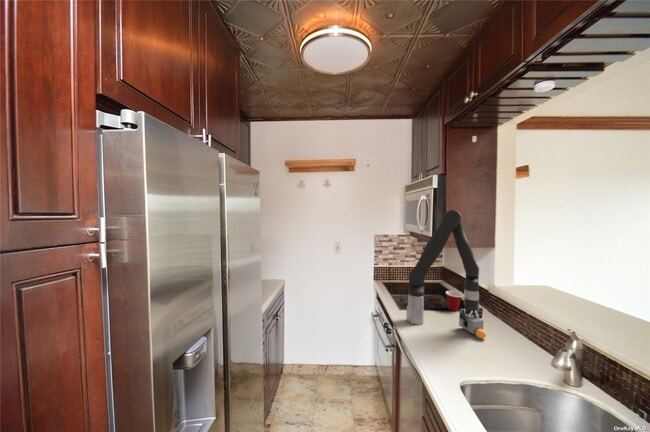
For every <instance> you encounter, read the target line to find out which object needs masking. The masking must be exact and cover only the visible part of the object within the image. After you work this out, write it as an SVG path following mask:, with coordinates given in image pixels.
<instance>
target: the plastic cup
mask: <svg viewBox="0 0 650 432" xmlns="http://www.w3.org/2000/svg"><path fill="white" fill-rule="evenodd" d="M445 295H446V300H447V306H448V307H447V308H448V309H449V311H452V312H458V310H459V309H460V308H459V307H460V303H461V299H462V297H464V294H462V293H461V292H458V291H454V290H446V291H445Z"/></svg>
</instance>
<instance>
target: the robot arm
mask: <svg viewBox="0 0 650 432" xmlns="http://www.w3.org/2000/svg"><path fill="white" fill-rule="evenodd" d="M451 234H452V236H453V239H454V242H455V245H456V249H457V251H458V254H459V257H460V259H461V262H462V265H463V269H464V272H465V281H464V292H463V305H464V308H459V314H460V319H462V320H463V325H464V327H467V323H468V321H467V320H468V318H470V316H472V315H473V316H474V317H476V318H479V319H481V320H483V312H484V311H483V310H484V309H483V308H482V307H480V292H479V289H480V288H479V287H480V284H479V283H480V282H479V275H480V267H479V265H478V264H477V261H476V259H475V255H474V251H473V250H472V247H471V244H470V242H469V239H468V238H467V236H466V233H465V231H464V229H463V224H462V214H461V213H460V212H459V211H458V210H457V209H450V210H447V211H446V212H445V213H444V215H443V217H442V219H441V222H440V225H439V226H438V228H437V229H436V231H435V232H434V233H433V234H432V236H431V237H430V238H429V240H428V241H427V244H426V245H425V246H424V248H423V250H422V253H421V255H420V257H419V259H418V262H417V263H416V264H415V266H414V267H413V268H412V269H411V270H410V271H409V273H408V289H407V290H408V291H407V292H408V294H407V296H408V297H407V298H408V299H407V305H406V321H407V322H409V324H411V325H419V326H420V325H423V324H424V314H425V313H424V309H425V307H424V305H425V300H424V299H425V278H426V276H427V274H428V272H429V270H430V268H431V267H432V266H433V264H434V263H435V262H436V261H437V259H438V258H439V256H440V254H441V253H442V252H443V250H444V248H445V246H446V244H447V242H448V240H449V238H450V236H451ZM466 314H467V315H466ZM465 317H466V318H465Z"/></svg>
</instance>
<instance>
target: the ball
mask: <svg viewBox="0 0 650 432" xmlns="http://www.w3.org/2000/svg"><path fill="white" fill-rule="evenodd" d="M475 336H476V337H477V339H481V340H483V339H485V338H486V337H487V333H486V331H485V330H484V329H483V330H482V329H477V330H476V334H475Z"/></svg>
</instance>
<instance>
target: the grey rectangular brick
mask: <svg viewBox="0 0 650 432" xmlns="http://www.w3.org/2000/svg"><path fill="white" fill-rule="evenodd" d="M466 315H467V314H466ZM465 318H466V317H465ZM458 320H459V322H458V326H459V327H461V328H462V329H464V330H466V331H467V332H469V333H471V334H473V335H476V330H477V329H482V330H484V320H483V319H481V318H480V319H479V318H476V317H474V316H473V315H472V316H470V318H468V320H467V321H468V323H467V327H464V325H463V320H462V319H460V313H459V318H458Z"/></svg>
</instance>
